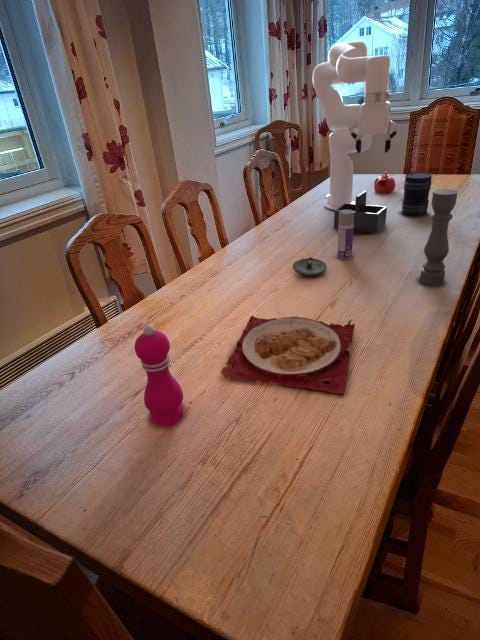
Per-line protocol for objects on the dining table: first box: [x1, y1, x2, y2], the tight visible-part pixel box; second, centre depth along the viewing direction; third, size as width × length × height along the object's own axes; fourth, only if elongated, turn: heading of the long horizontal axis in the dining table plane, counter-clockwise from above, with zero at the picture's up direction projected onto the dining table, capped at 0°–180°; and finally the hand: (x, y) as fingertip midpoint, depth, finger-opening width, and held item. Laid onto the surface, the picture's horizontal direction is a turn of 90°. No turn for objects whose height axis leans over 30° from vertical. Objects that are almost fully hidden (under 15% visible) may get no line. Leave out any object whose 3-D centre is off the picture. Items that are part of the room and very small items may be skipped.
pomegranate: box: [373, 171, 396, 194], centre depth 202 cm, size 10×10×9 cm
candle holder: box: [419, 188, 458, 288], centre depth 114 cm, size 6×6×25 cm
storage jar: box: [400, 171, 433, 218], centre depth 169 cm, size 10×10×15 cm
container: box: [337, 210, 354, 260], centre depth 137 cm, size 5×5×15 cm
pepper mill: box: [134, 324, 185, 427], centre depth 77 cm, size 7×7×20 cm
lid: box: [292, 257, 328, 277], centre depth 133 cm, size 11×10×5 cm
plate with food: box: [220, 315, 356, 395], centre depth 96 cm, size 24×26×3 cm
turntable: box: [353, 231, 374, 236], centre depth 164 cm, size 16×16×1 cm
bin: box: [333, 190, 388, 234], centre depth 160 cm, size 17×10×12 cm, turn 56°
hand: (372, 152), depth 153 cm, fingers open, 9 cm apart
